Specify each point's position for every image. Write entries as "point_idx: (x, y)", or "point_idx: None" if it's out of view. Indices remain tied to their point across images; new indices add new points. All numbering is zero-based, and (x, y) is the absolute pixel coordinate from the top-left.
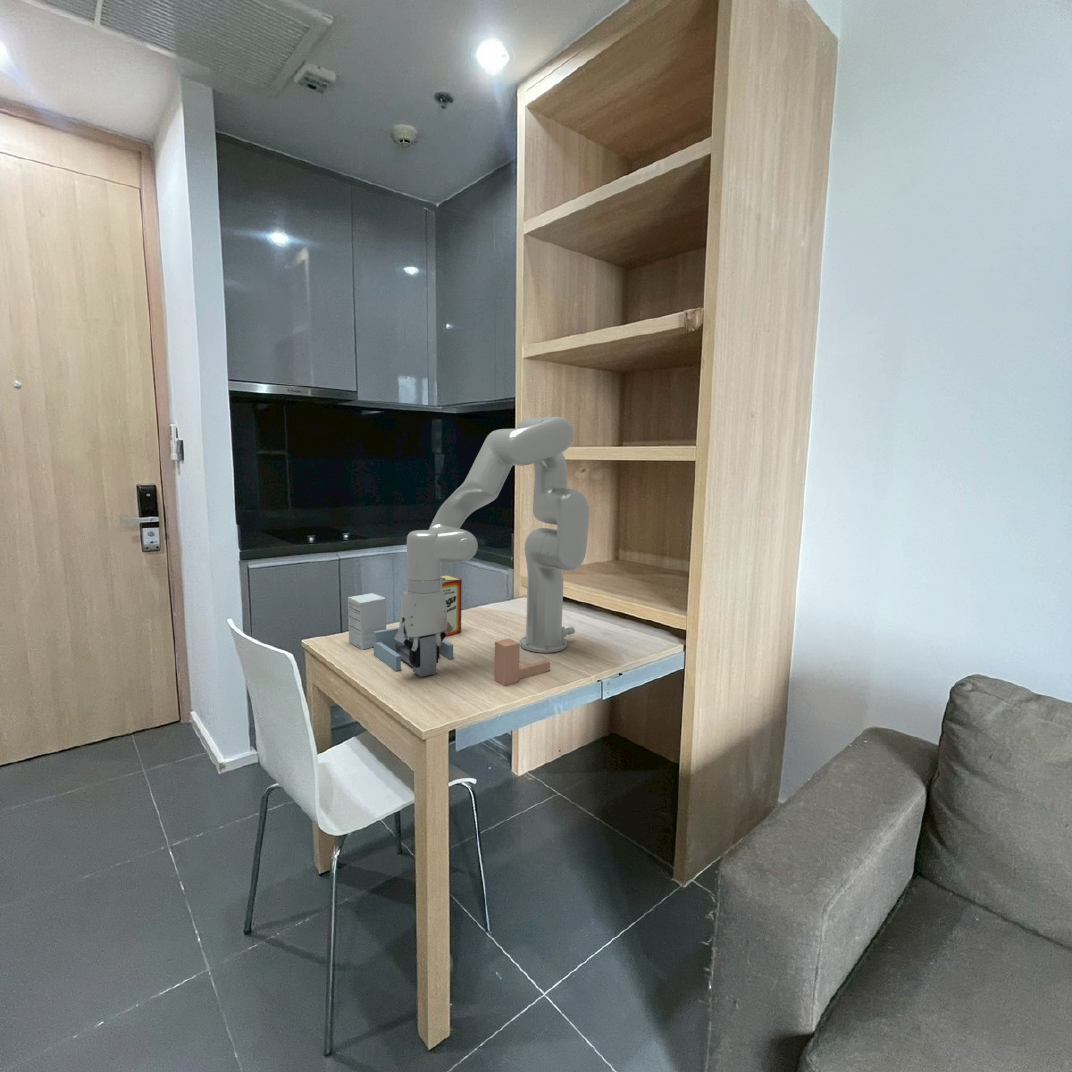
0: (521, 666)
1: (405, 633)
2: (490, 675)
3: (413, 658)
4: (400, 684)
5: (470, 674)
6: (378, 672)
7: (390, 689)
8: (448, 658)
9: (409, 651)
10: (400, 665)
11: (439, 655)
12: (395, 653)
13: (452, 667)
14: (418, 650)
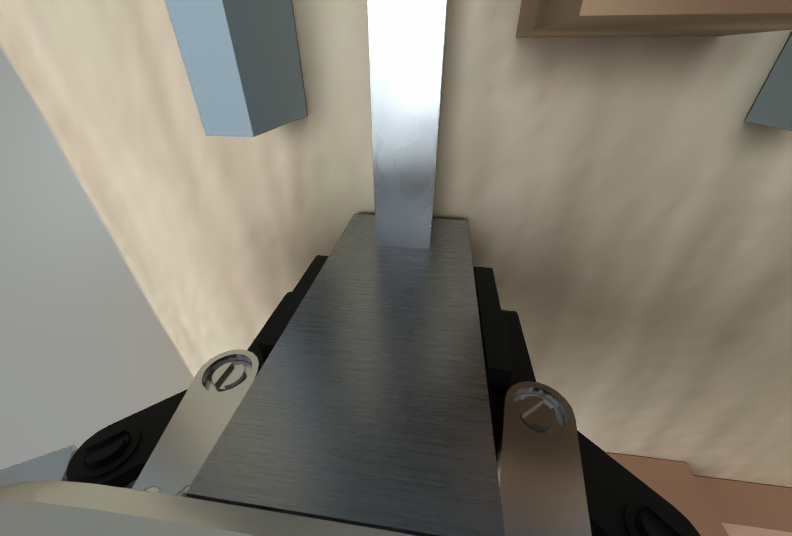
0: (755, 529)
1: (46, 492)
2: (643, 425)
3: None
4: (259, 290)
5: (590, 379)
6: (154, 53)
7: (210, 306)
8: (754, 111)
9: (252, 345)
10: (290, 119)
11: (743, 32)
12: (209, 24)
13: (606, 269)
14: None
